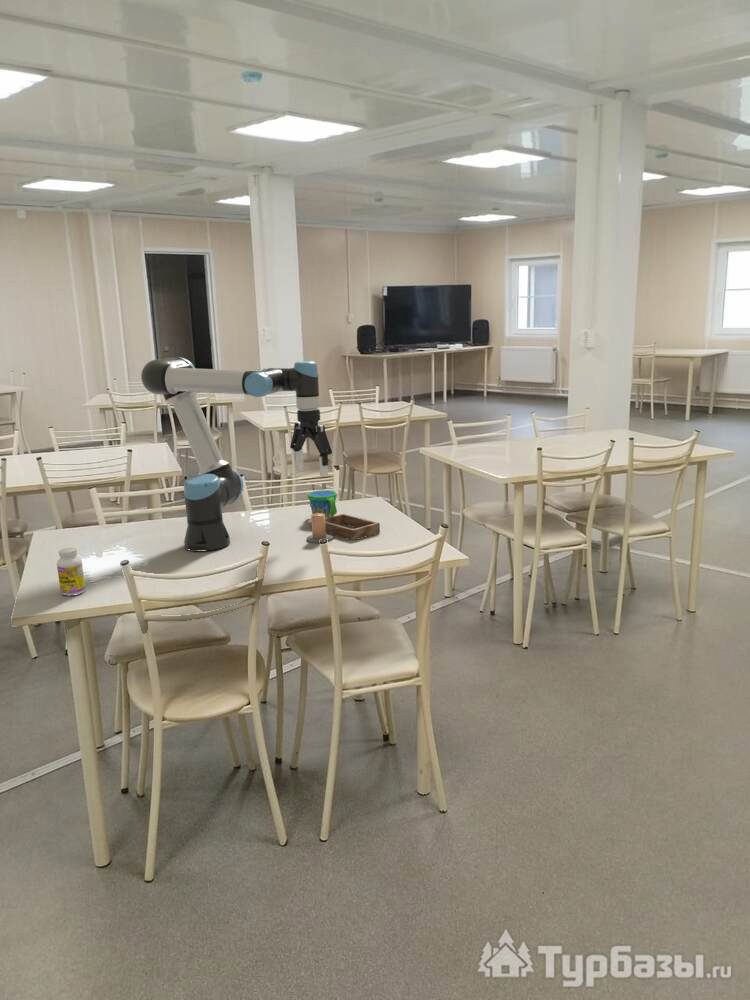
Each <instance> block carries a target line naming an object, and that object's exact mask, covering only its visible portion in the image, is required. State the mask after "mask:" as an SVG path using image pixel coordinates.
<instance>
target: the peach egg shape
mask: <svg viewBox="0 0 750 1000" xmlns="http://www.w3.org/2000/svg"><path fill="white" fill-rule="evenodd" d="M310 516H311V519H310V520H311V529H312V530H311V532H312V534H311V535H313V539H324V538H326V534H327V533H326V524H325V514H324V513H315V514H312V513H311V515H310Z"/></svg>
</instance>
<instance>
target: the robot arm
mask: <svg viewBox="0 0 750 1000" xmlns="http://www.w3.org/2000/svg"><path fill="white" fill-rule="evenodd" d="M140 375H141V376H140V378H141V379H140V380H141V382H142V385H143V387H144V388H145V389H146V390H147V391H148V392H150V393H151V394H154V395H162V396H163V398H164V400H165V402H166V403H167V404H170V405H172V407H173V410H174V411H175V415H176V416H177V419H178V421H179V424H180V425H181V427H182V430H183V432H184V435H185V438H186V440H187V442H188V444H189V447H190V449H191V451H192V454H193V456H194V458H195V461H196V462H197V463H196V464H197V465H198V467H199V471H198V474H197V475H193V476H191V477H189V478H187V479H186V480H185V482H184V483H183V495H184V503H185V510H186V511H185V512H186V519H187V520H186V522H187V526H186V527H187V528H186V531H185V536H184V540H183V543H184V549H185V548H187V549H190V550H212V551H215V550H214V549H217V550H220V549H219V548H221V549H223V547H224V548H226V547H228V546H229V545H230V544H231V538H230V534H229V532H228V530H227V527H226V525H225V524H224V520H223V519H224V518H223V508H224V507H227V506H228V505H231V504H233V503H235V502H236V501H237V500H238V499H239V498H240V497H241V495H242V493H243V492H244V481H243V480H244V479H243V477H242V476H241V475H240V473H239V471H236V470H235V469H233V468H232V466H231V463H230V462H229V461H226V460H225V459H223V456H222V454H221V451H220V449H219V446H218V444H217V442H216V440H215V438H214V435H213V433H212V430H211V428H210V425H209V424H208V421H207V419H206V416H205V414H204V412H203V410H202V407H201V404H200V403H199V399H198V398H197V393H210V394H228V395H247V396H252V397H254V398H259V397H260V398H263V397H265V396H268V395H272V394H275V393H280V392H295V400H296V402H295V403H296V409H297V411H296V416H297V422H294V425H293V426H294V428H293V433H292V437H291V441H290V445H289V448H290V449H292V451H294V459H295V470H296V471H303V470H305V468H304V467H305V463H304V453H303V452H304V451H303V450H304V449H303V447H304V444H305V442H306V441H307V438H308V439H311V441H313V442H314V445H315V446H316V449H317V450H318V453H319V456H318V458H319V459H318V460H319V475H320V476H319V477H324V476H327V475H328V476H329V472H328V471H329V468H328V466H329V456H330V455H332V454H333V451H332V448H331V445H330V442H329V439H328V436H327V433H326V427H325V425H324V424H322V425H319V421H320V420H321V410H320V391H319V390H320V388H319V387H320V386H319V377H320V376H319V372H318V363H317V362H315V361H312V360H311V361H309V360H308V361H305V360H304V361H296V362H294V365H293V367H290V368H288V367H287V368H284V367H282V368H281V367H279V368H277V367H276V368H275V367H270V368H269V367H268V368H262V369H261V370H260V371H259V370H238V369H237V370H235V369H234V370H233V369H217V368H216V369H215V368H196V367H195V366H194V364H193V362H192V361H190V360H188V359H187V358H184V357H178V356H170V357H166V358H158V359H156V358H155V359H152V360H151V361H149V362H147V363H146V364H145V365H144V366H143V368H142V370H141V374H140ZM227 545H228V546H227ZM225 546H226V547H225ZM187 549H186V550H187Z"/></svg>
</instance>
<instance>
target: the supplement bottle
mask: <svg viewBox="0 0 750 1000" xmlns="http://www.w3.org/2000/svg"><path fill="white" fill-rule="evenodd" d="M77 554H78V551H77V548H75V547H65V548H62V549H59V550H58V556H59V557H60V558H59V559H58V560H57V562H56V566H57V567H56V568H57V574H58V576H57V577H58V583H59V589H60V590H59V591H60V594H61V595H62V594H63V595H74V594H79V593H82V592H83V593H85V591H86V583H85V582H86V581H85V575H84V569H83V568H84V567H83V561H82V558H81V557H80V556H78V555H77ZM83 593H82V594H83ZM63 595H62V596H63Z"/></svg>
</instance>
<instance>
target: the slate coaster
mask: <svg viewBox="0 0 750 1000" xmlns="http://www.w3.org/2000/svg"><path fill="white" fill-rule="evenodd" d="M325 539H328V540H329V542H330V540H331V541H333V540H334V535H333V534H330V533H326V538H325ZM319 540H320V539H313V534H311V535H308V536H306V542H307V543H311V544H320V543H319Z"/></svg>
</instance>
